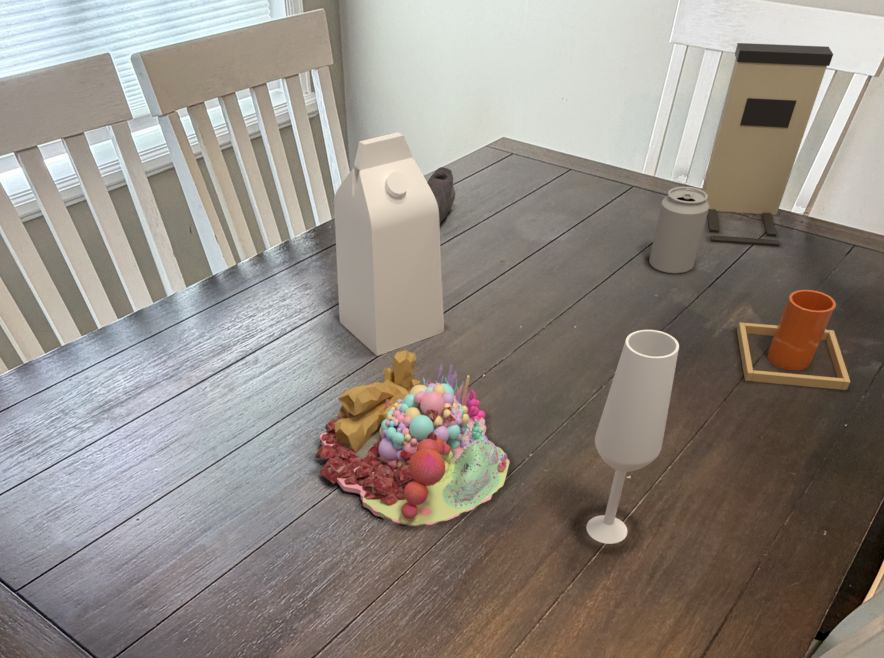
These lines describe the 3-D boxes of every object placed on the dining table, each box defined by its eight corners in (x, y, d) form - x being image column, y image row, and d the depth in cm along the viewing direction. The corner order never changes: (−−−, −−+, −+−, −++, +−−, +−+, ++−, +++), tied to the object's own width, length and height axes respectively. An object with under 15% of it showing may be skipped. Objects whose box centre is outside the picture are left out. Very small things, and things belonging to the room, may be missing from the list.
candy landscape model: (282, 462, 92) (269, 399, 85) (404, 379, 104) (402, 319, 97) (434, 552, 82) (433, 490, 75) (551, 450, 94) (560, 388, 87)
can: (643, 273, 124) (660, 198, 115) (652, 254, 128) (668, 180, 119) (688, 281, 122) (708, 205, 113) (695, 261, 126) (715, 187, 117)
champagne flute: (647, 533, 84) (705, 343, 65) (612, 564, 81) (663, 373, 62) (599, 505, 87) (642, 316, 69) (564, 533, 84) (599, 344, 66)
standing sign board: (774, 209, 140) (828, 46, 120) (786, 251, 129) (848, 79, 109) (696, 204, 142) (737, 42, 122) (701, 245, 131) (747, 74, 111)
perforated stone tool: (438, 239, 133) (438, 198, 127) (410, 235, 134) (409, 195, 128) (459, 205, 142) (459, 166, 137) (433, 202, 143) (432, 163, 138)
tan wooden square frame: (828, 342, 110) (834, 330, 108) (844, 394, 101) (850, 381, 100) (735, 334, 111) (739, 322, 110) (743, 385, 103) (747, 372, 101)
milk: (404, 300, 118) (398, 116, 98) (444, 332, 112) (445, 142, 92) (339, 322, 114) (318, 134, 94) (376, 356, 108) (363, 162, 88)
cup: (806, 350, 107) (832, 291, 100) (812, 373, 104) (839, 313, 97) (764, 346, 108) (786, 288, 101) (769, 369, 104) (792, 309, 97)
